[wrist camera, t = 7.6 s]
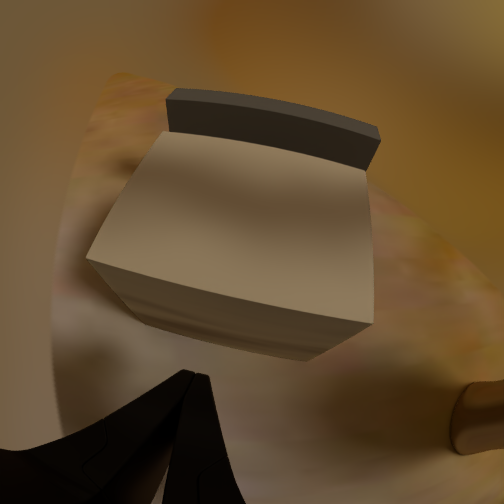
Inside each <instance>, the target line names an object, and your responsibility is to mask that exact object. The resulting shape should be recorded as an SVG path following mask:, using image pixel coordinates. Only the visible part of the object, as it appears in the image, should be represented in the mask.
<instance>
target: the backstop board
mask: <svg viewBox="0 0 504 504" xmlns="http://www.w3.org/2000/svg"><path fill="white" fill-rule="evenodd" d="M166 107H167V116H168V124H169V131H170V132H176V133H185V134H194V135H202V136H210V137H217V138H224V139H230V140H236V141H242V142H248V143H254V144H259V145H264V146H269V147H274V148H279V149H284V150H288V151H293V152H297V153H301V154H306V155H310V156H314V157H318V158H322V159H325V160H329V161H333V162H337V163H340V164H344V165H347V166H351V167H354V168H357V169H361V170H364V171H365V172H366V170H367V168H368V166H369V164H370V162H371V160H372V158H373V156H374V154H375V152H376V150H377V148H378V146H379V144H380V142H381V139H380V135H379V132H378V128H377V127H376V126H373V125H371V124H368V123H365V122H361V121H358V120H355V119H352V118H349V117H345V116H342V115H339V114H335V113H332V112H328V111H324V110H320V109H316V108H312V107H308V106H304V105H300V104H295V103H290V102H286V101H281V100H275V99H269V98H264V97H258V96H252V95H245V94H238V93H230V92H221V91H211V90H199V89H183V88H176V89H175V90H174V91H173V92H172V93H171V94H170V95H169V96H168V97H167V98H166Z"/></svg>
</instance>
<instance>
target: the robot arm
mask: <svg viewBox="0 0 504 504" xmlns="http://www.w3.org/2000/svg"><path fill="white" fill-rule="evenodd" d="M227 456H228V455H227V451H226V447H225V443H224V439H223V435H222V431H221V427H220V423H219V419H218V414H217V410H216V406H215V401H214V397H213V392H212V387H211V382H210V378H209V376H208V375H206V374H201V373H196V374H195V372H193V371H189V370H185V369H182V370H180V371H179V372H177V373H176V374H174V375H173V376H171V377H170V378H168V379H167V380H165V381H164V382H162V383H160V384H159V385H157V386H156V387H154V388H153V389H151V390H149V391H148V392H146V393H145V394H143V395H141V396H140V397H138V398H137V399H135V400H133V401H132V402H130V403H128V404H127V405H125V406H123V407H122V408H120V409H118V410H117V411H115V412H113V413H112V414H110V415H108V416H106V417H105V418H104V419H101V420H99V421H97V422H96V423H94V424H92V425H90V426H88V427H86V428H84V429H82V430H80V431H78V432H76V433H73V434H71V435H69V436H66V437H64V438H61V439H58V440H55V441H53V442H50V443H47V444H44V445H41V446H38V447H35V448H31V449H28V450H21V451H10V450H5V449H0V504H151V502H152V500H153V498H154V496H155V494H156V492H157V489H158V487H159V485H160V483H161V481H162V479H163V476H164V474H165V472H166V470H167V468H168V465H169V468H168V474H167V479H166V484H165V489H164V495H163V500H162V504H246V503H245V501H244V499H243V497H242V495H241V492H240V490H239V488H238V486H237V483H236V481H235V478H234V475H233V472H232V469H231V465H230V462H229V458H228V457H227Z"/></svg>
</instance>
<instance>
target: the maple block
mask: <svg viewBox="0 0 504 504" xmlns="http://www.w3.org/2000/svg"><path fill="white" fill-rule="evenodd" d="M86 259H87V260H88V262H89V263H90V264H91V265H92V266H93V268H94V269H95V270H96V271H97V272H98V274H99V275H100V276H101V277H102V278H103V280H104V281H105V282H106V283H107V284H108V285H109V287H110V288H111V289H112V290H113V291H114V292H115V293H116V294H117V295H118V297H119V298H120V299H121V300H122V301H123V302H124V303H125V304H126V305H127V306H128V307H129V308H130V310H131V311H132V312H133V313H134V314H135V315H136V316H137V317H138V318H139V319H140V320H141V321H142V322H143V323H144V324H146V325H149V326H152V327H155V328H158V329H162V330H165V331H169V332H172V333H176V334H179V335H183V336H186V337H190V338H194V339H198V340H201V341H205V342H209V343H213V344H218V345H222V346H226V347H230V348H235V349H239V350H244V351H249V352H254V353H259V354H264V355H269V356H274V357H280V358H286V359H291V360H298V361H304V362H307V361H309V360H311V359H313V358H315V357H316V356H318V355H320V354H322V353H324V352H326V351H328V350H329V349H331V348H333V347H335V346H337V345H338V344H340V343H342V342H344V341H345V340H347V339H349V338H351V337H352V336H354V335H356V334H357V333H359V332H361V331H362V330H364V329H366V328H367V327H369V326H370V325H372V324H373V318H374V267H373V244H372V229H371V216H370V206H369V196H368V188H367V180H366V173H365V171H364V170H361V169H357V168H354V167H351V166H347V165H344V164H340V163H337V162H333V161H329V160H325V159H322V158H318V157H314V156H310V155H306V154H301V153H297V152H293V151H288V150H284V149H279V148H274V147H269V146H264V145H259V144H254V143H248V142H242V141H236V140H230V139H224V138H217V137H210V136H202V135H194V134H185V133H176V132H165V131H163V132H162V133H161V134H160V136H159V137H158V138H157V140H156V141H155V143H154V144H153V145H152V147H151V148H150V150H149V151H148V152H147V154H146V155H145V157H144V158H143V160H142V161H141V162H140V164H139V165H138V167H137V168H136V170H135V171H134V173H133V174H132V176H131V178H130V179H129V181H128V182H127V184H126V185H125V187H124V189H123V190H122V192H121V194H120V195H119V197H118V198H117V200H116V202H115V204H114V205H113V207H112V209H111V210H110V212H109V214H108V216H107V217H106V219H105V221H104V223H103V225H102V227H101V228H100V230H99V232H98V234H97V236H96V238H95V240H94V242H93V244H92V246H91V248H90V250H89V252H88V254H87V256H86Z"/></svg>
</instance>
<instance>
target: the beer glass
mask: <svg viewBox="0 0 504 504" xmlns="http://www.w3.org/2000/svg"><path fill="white" fill-rule="evenodd" d="M451 441H452V444H453V447H454V449H455V450H456V451H457V452H458V453H459V454H462V455H472V454H477V453H481V452H485V451H489V450H496V449H504V379H503V380H499V381H479V382H475V383H473V384H471V385H469V386H468V387H467V388H466V389H465V390H464V391H463V393H462V394H461V396H460V398H459V399H458V401H457V404H456V406H455V409H454V412H453V416H452V420H451Z"/></svg>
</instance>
